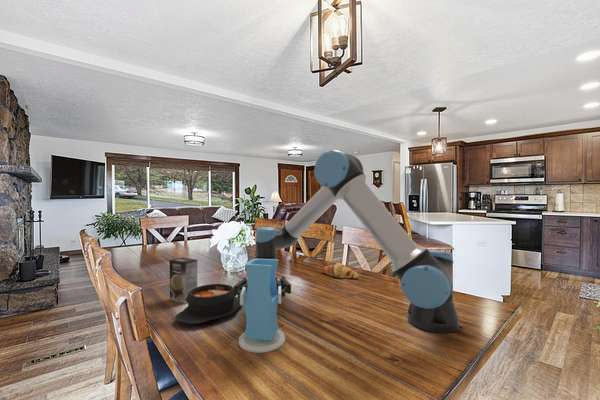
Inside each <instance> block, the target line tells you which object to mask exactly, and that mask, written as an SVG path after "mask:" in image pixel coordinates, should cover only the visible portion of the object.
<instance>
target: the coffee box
mask: <svg viewBox="0 0 600 400" xmlns="http://www.w3.org/2000/svg"><path fill="white" fill-rule="evenodd" d="M196 287H198V259H196V258H195V259H194V258H189V257H178V258H177V257H176V258H172V259H169V301H172V302H175V303H178V304H179V303H180V304H184V305H186V304H187V305H188V303H187V302H186V300H185V299H186V297H187V296H188V293H189V291H190V290H192V289H194V288H196Z"/></svg>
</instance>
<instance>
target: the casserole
mask: <svg viewBox="0 0 600 400" xmlns="http://www.w3.org/2000/svg"><path fill="white" fill-rule="evenodd" d="M185 300H186V302H187V305H188V306H186V307H185V308H184V309H183V310H182V311H180V312H178V313H177V314H176V315H175V316H174V319H175V320H176V321H177V322H180V323H183V324H190V325H199V324H204V323H206V322H208V321H209V322H210V321H212V320H218V319H221V318H225V317H228V316H230V315H232V314H233V313H235V312H236V311H237V310H238V309H239V308H240V306H241V305H240V298H238V296H237V295H234V292H233V286H232V285H229V284H227V283H225V284H224V283H211V284H210V283H209V284H204V285H200V286H197V287H196V288H194V289H192V290H190V291H189V293H188V296H187V297H186V299H185Z"/></svg>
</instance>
